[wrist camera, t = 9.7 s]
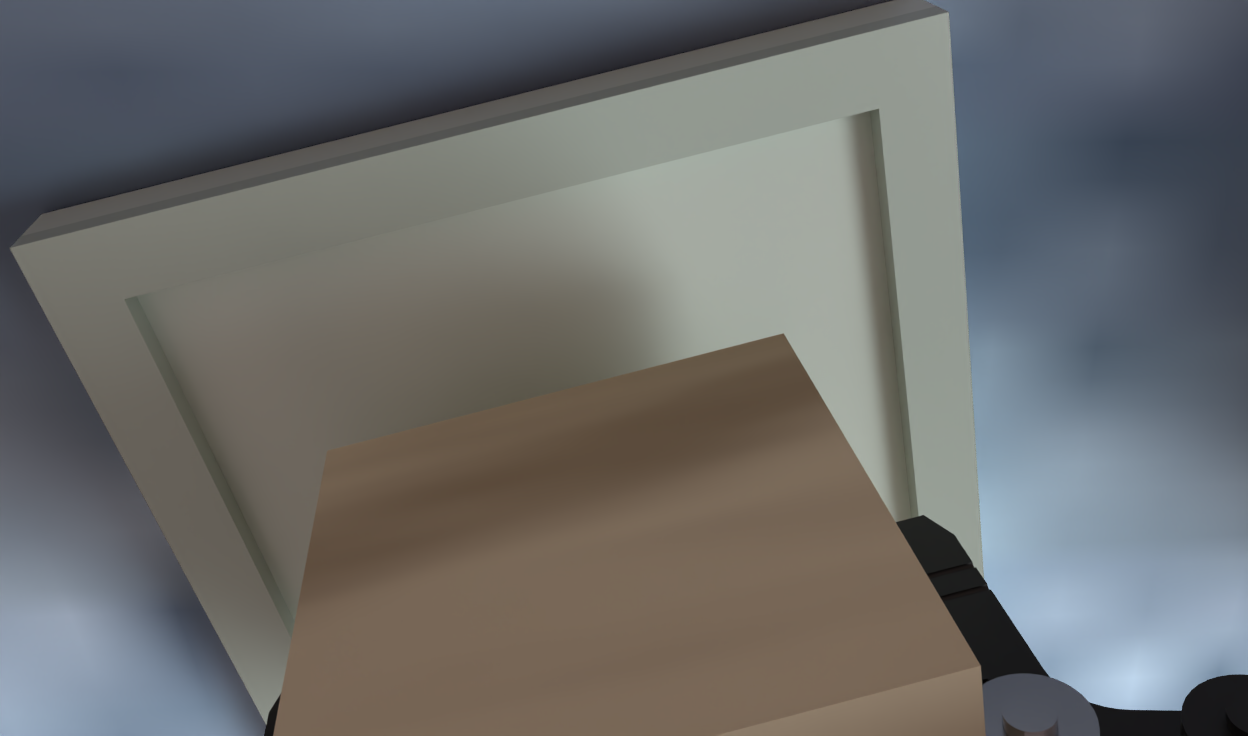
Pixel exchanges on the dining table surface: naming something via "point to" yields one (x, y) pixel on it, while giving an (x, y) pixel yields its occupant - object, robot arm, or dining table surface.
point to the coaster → (528, 285)
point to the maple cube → (623, 573)
